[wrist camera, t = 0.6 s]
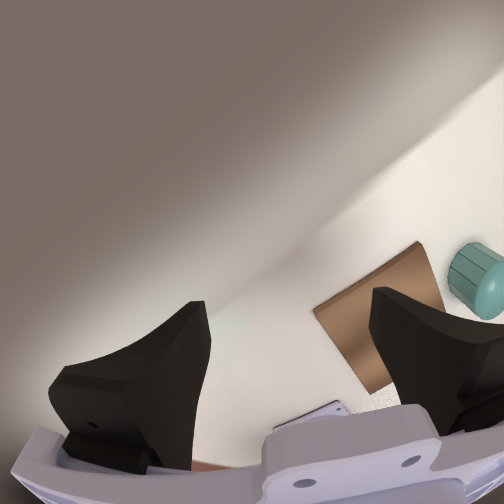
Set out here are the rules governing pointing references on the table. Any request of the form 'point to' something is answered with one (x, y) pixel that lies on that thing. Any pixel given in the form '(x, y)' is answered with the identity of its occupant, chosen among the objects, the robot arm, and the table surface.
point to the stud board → (359, 306)
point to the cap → (478, 280)
